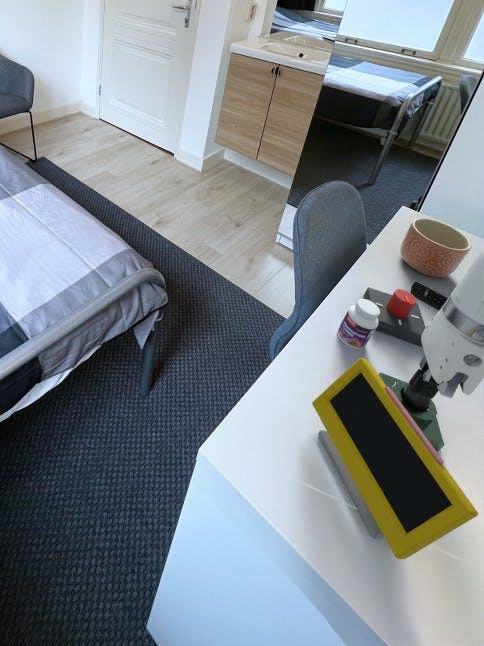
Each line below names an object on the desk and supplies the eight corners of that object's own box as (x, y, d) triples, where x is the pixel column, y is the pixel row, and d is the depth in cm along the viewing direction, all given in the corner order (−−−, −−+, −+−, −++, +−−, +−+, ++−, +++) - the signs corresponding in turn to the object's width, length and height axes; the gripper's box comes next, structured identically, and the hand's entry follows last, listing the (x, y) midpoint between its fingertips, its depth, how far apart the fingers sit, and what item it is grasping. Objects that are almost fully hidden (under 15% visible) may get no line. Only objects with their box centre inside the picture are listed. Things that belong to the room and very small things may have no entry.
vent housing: (375, 378, 81) (383, 365, 79) (423, 398, 78) (433, 385, 76) (383, 429, 72) (393, 415, 71) (438, 452, 70) (450, 439, 68)
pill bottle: (332, 336, 89) (349, 304, 84) (342, 323, 92) (359, 291, 87) (359, 355, 85) (378, 322, 80) (369, 341, 88) (388, 309, 84)
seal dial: (384, 300, 95) (393, 285, 92) (405, 307, 93) (415, 292, 91) (387, 313, 91) (397, 298, 89) (409, 321, 90) (419, 305, 88)
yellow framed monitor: (304, 414, 74) (336, 356, 66) (345, 411, 75) (381, 354, 67) (385, 569, 56) (441, 515, 49) (438, 564, 57) (500, 509, 50)
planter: (444, 291, 103) (466, 258, 98) (388, 261, 111) (406, 229, 106) (455, 269, 110) (476, 237, 105) (402, 243, 118) (419, 212, 113)
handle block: (412, 312, 96) (418, 302, 95) (422, 347, 88) (429, 337, 86) (363, 296, 99) (368, 286, 98) (368, 328, 91) (374, 318, 90)
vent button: (399, 387, 76) (403, 381, 75) (422, 396, 74) (427, 390, 74) (403, 405, 73) (407, 399, 72) (428, 415, 72) (432, 409, 71)
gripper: (528, 371, 56) (459, 445, 65) (486, 293, 69) (433, 364, 77) (461, 347, 59) (403, 421, 67) (433, 276, 71) (387, 347, 80)
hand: (419, 390), depth 72 cm, fingers closed
